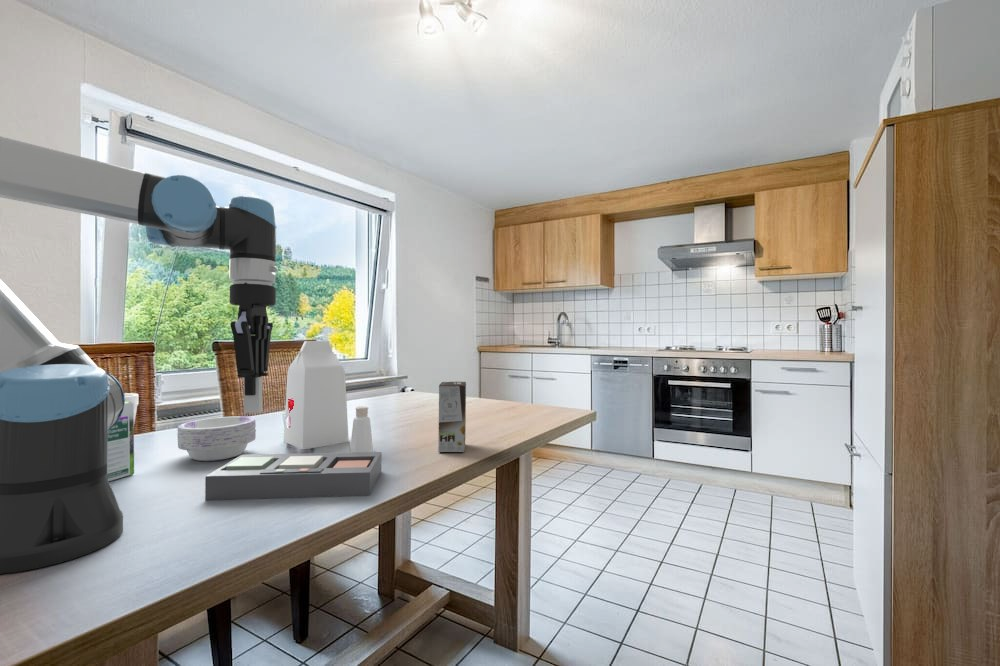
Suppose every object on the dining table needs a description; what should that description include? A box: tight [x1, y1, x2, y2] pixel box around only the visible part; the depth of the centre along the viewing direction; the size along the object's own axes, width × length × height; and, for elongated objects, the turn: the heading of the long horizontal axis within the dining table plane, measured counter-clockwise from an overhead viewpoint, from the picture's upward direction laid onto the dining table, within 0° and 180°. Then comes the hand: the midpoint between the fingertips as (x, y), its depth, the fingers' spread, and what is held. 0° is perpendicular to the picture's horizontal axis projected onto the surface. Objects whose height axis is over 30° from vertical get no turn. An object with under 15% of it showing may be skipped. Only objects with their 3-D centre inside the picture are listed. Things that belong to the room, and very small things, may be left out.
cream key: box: [279, 456, 323, 469], centre depth 87 cm, size 6×6×2 cm
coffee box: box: [437, 381, 467, 453], centre depth 115 cm, size 9×6×16 cm
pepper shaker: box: [349, 405, 374, 453], centre depth 109 cm, size 5×5×11 cm
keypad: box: [204, 451, 382, 501], centre depth 87 cm, size 14×27×4 cm, turn 96°
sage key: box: [226, 457, 274, 470], centre depth 86 cm, size 6×6×2 cm
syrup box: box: [107, 401, 135, 482], centre depth 90 cm, size 6×6×14 cm
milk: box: [283, 340, 350, 450], centre depth 121 cm, size 12×12×26 cm
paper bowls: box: [176, 415, 257, 462], centre depth 106 cm, size 15×15×8 cm
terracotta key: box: [333, 460, 371, 468], centre depth 88 cm, size 6×6×2 cm
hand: (253, 412), depth 86 cm, fingers closed
